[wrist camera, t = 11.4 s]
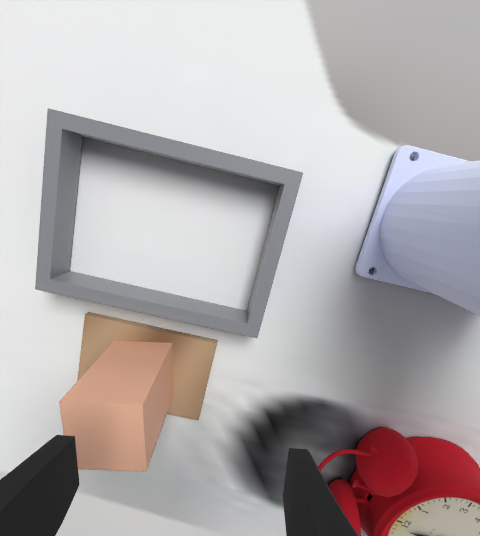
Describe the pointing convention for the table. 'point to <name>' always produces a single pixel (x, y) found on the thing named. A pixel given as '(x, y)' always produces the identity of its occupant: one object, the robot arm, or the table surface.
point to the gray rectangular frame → (128, 296)
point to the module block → (120, 406)
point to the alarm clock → (409, 487)
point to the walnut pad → (183, 345)
